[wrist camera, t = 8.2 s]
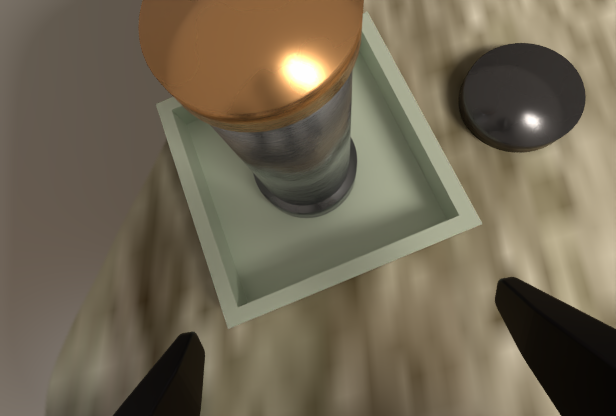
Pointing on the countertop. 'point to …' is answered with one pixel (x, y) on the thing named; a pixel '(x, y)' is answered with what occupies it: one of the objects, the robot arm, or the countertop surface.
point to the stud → (521, 97)
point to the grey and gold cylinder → (267, 87)
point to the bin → (332, 226)
